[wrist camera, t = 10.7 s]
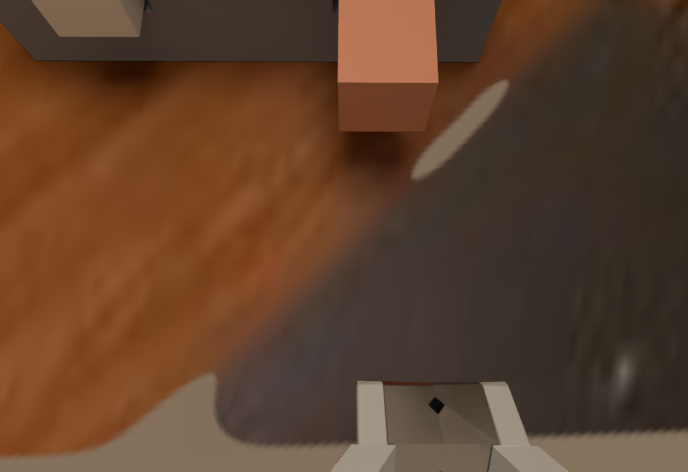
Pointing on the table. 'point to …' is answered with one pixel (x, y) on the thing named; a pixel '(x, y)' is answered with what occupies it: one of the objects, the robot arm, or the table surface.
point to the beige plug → (93, 17)
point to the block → (238, 31)
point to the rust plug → (386, 64)
